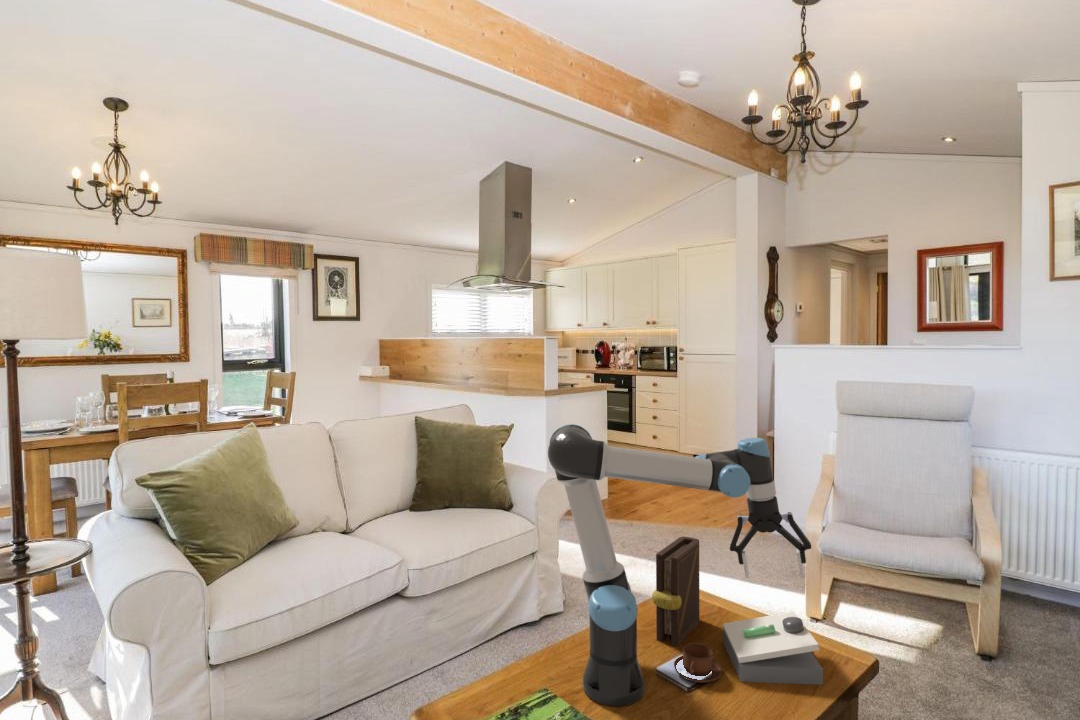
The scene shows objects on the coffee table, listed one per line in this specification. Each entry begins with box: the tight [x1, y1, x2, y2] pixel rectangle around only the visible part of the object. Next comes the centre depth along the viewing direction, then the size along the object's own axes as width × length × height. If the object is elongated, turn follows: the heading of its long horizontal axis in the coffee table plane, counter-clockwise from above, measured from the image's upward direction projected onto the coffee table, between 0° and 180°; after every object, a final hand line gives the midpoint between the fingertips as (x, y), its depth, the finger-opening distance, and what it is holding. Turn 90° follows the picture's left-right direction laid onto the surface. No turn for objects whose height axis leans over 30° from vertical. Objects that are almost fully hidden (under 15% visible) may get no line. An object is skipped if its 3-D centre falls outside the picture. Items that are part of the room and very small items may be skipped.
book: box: [651, 536, 700, 647], centre depth 173 cm, size 22×8×25 cm, turn 144°
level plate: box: [722, 611, 820, 663], centre depth 156 cm, size 20×18×4 cm
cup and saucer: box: [673, 642, 723, 684], centre depth 151 cm, size 12×12×6 cm
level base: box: [722, 627, 824, 686], centre depth 156 cm, size 20×20×4 cm
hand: (774, 575), depth 155 cm, fingers open, 13 cm apart
